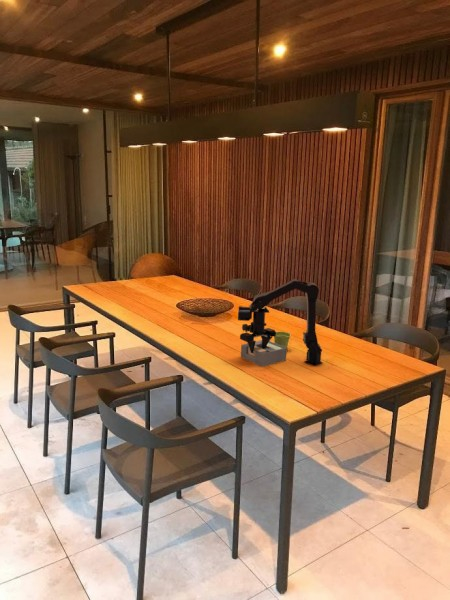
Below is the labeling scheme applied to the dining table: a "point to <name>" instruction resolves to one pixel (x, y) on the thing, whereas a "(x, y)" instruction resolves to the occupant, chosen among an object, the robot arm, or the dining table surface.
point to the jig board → (265, 354)
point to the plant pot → (282, 338)
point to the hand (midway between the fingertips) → (257, 351)
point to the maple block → (256, 350)
